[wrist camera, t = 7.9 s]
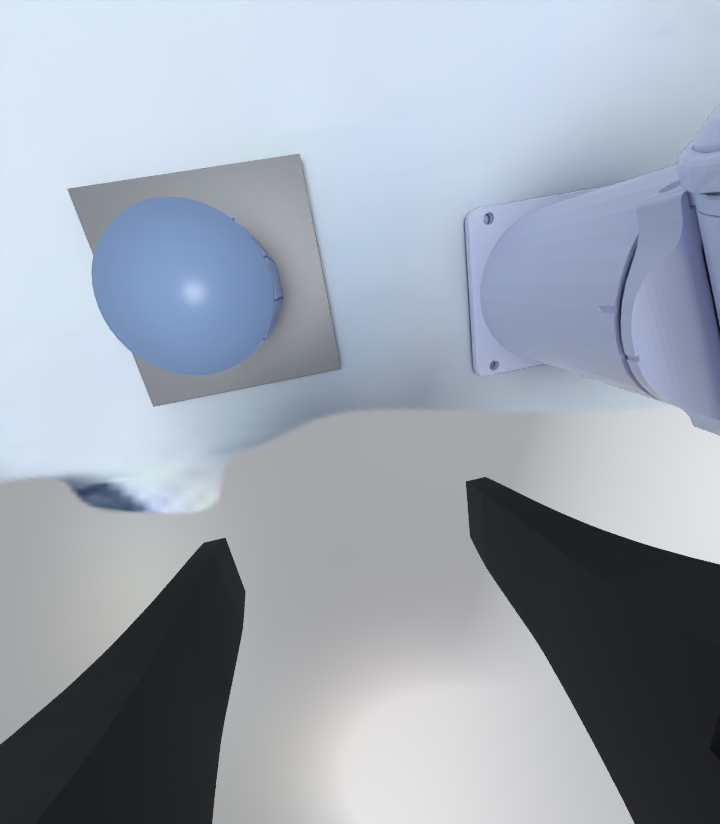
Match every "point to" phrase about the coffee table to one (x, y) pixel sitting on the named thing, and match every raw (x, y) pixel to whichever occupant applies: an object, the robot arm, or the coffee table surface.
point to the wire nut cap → (185, 285)
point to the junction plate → (279, 236)
